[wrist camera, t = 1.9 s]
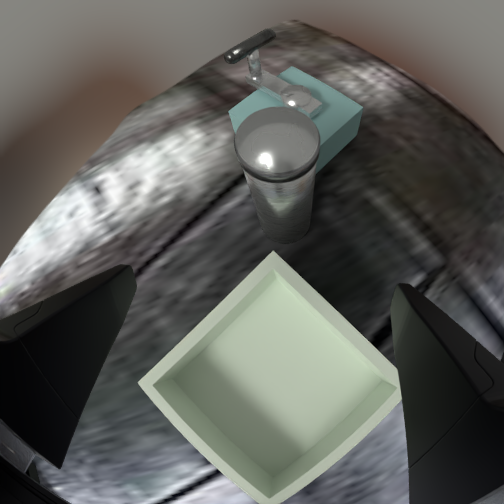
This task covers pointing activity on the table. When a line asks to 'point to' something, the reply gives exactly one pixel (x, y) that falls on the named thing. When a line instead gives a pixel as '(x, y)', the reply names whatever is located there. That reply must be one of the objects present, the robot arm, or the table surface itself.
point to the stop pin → (280, 169)
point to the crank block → (327, 120)
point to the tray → (274, 384)
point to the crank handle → (272, 76)
